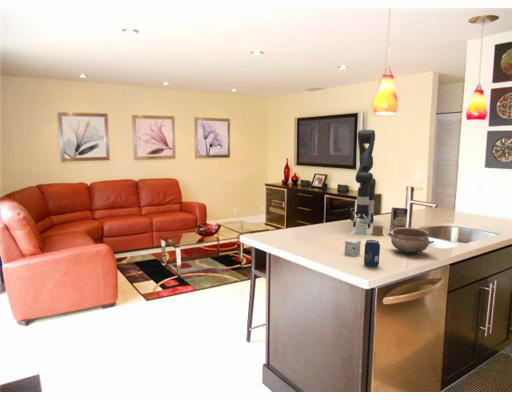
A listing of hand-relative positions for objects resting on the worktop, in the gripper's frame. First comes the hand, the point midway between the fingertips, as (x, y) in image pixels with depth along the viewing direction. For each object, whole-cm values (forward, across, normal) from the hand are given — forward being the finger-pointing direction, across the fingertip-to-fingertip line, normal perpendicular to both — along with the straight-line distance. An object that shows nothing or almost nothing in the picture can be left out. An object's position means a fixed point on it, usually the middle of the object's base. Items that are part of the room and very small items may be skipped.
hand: (361, 228), depth 254 cm
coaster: (+4, -10, -2) cm, 11 cm away
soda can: (+4, -16, +67) cm, 69 cm away
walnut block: (+4, -10, -2) cm, 11 cm away
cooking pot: (+4, -31, +34) cm, 46 cm away
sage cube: (+4, 0, 0) cm, 4 cm away
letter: (+4, 0, 0) cm, 4 cm away
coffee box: (+4, -21, -19) cm, 28 cm away
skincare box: (+4, -4, +51) cm, 52 cm away
